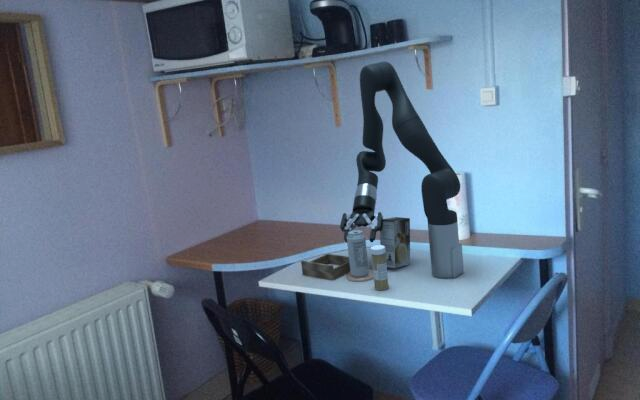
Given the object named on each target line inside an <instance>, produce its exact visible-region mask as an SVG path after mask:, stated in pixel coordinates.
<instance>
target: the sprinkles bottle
mask: <svg viewBox="0 0 640 400" xmlns="http://www.w3.org/2000/svg"><path fill="white" fill-rule="evenodd" d="M385 252H386V250H385V246H383V245H380V244H375V245H372V246H371V247H370V254H371V263H372V270H373V275H374V279H373V282H374V289H375V290H377V291H384V290H388V289H389V288H390V285H389V281H388V279H389V278H388V267H387V264H386V255H385V254H386V253H385Z"/></svg>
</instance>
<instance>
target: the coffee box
mask: <svg viewBox="0 0 640 400" xmlns="http://www.w3.org/2000/svg"><path fill="white" fill-rule="evenodd" d="M410 219H411V218H410V217H397V216H394V217H389V218H383V226H382V231H379V233H380V234H379V235H380V236H379V241H380V242H379V245H383V246H385V250H386V252H385V253H386V254H385V255H386V264H387V268H391V269H396V268H397V269H398V268H400V267H404V266H407V265H410V264H411V220H410Z"/></svg>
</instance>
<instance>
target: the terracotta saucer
mask: <svg viewBox="0 0 640 400" xmlns="http://www.w3.org/2000/svg"><path fill="white" fill-rule="evenodd" d="M345 278H346V279H347V280H348V281H349V282H353V283H355V282H357V283H359V282H361V283H362V282H367V281H371V280H374V275H373V269H369V273H368V275H367V276H366V277H363V278H354V277H353V275H351V272H349V273H347V274H346V277H345Z"/></svg>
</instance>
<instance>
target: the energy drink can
mask: <svg viewBox="0 0 640 400" xmlns="http://www.w3.org/2000/svg"><path fill="white" fill-rule="evenodd" d="M366 243H367V241H366V235H365V234H364V231H363V230H361V229H360V230H359V229H353V230H352V231H350V232H348V236H347V251H348V257H349V262H350V271H351V275H353V277H354V278H363V277H366V276H367V275H368V273H369V270H370V269H369V261H368V251H367V244H366Z"/></svg>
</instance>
